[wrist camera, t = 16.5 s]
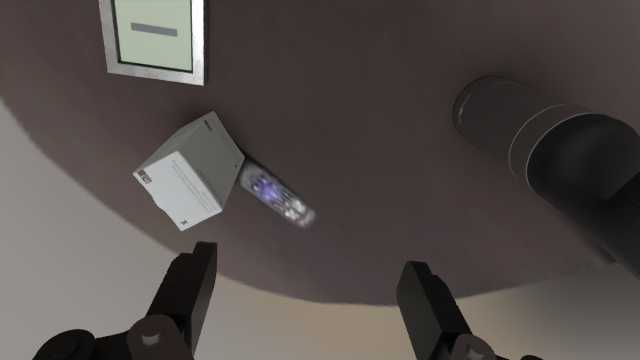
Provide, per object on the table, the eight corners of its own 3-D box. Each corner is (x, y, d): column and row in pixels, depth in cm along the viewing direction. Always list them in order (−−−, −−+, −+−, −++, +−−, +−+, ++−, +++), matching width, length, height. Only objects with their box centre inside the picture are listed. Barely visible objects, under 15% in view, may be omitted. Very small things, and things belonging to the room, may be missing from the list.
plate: (193, -4, 39) (189, -4, 37) (194, 68, 42) (191, 70, 41) (119, -16, 37) (112, -17, 36) (126, 58, 41) (121, 60, 40)
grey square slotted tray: (208, -16, 39) (202, -17, 36) (207, 81, 44) (203, 85, 41) (105, -34, 37) (93, -36, 35) (117, 68, 42) (108, 72, 40)
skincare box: (245, 156, 49) (229, 213, 36) (211, 174, 50) (182, 235, 37) (211, 106, 45) (179, 149, 32) (174, 126, 46) (128, 176, 33)
